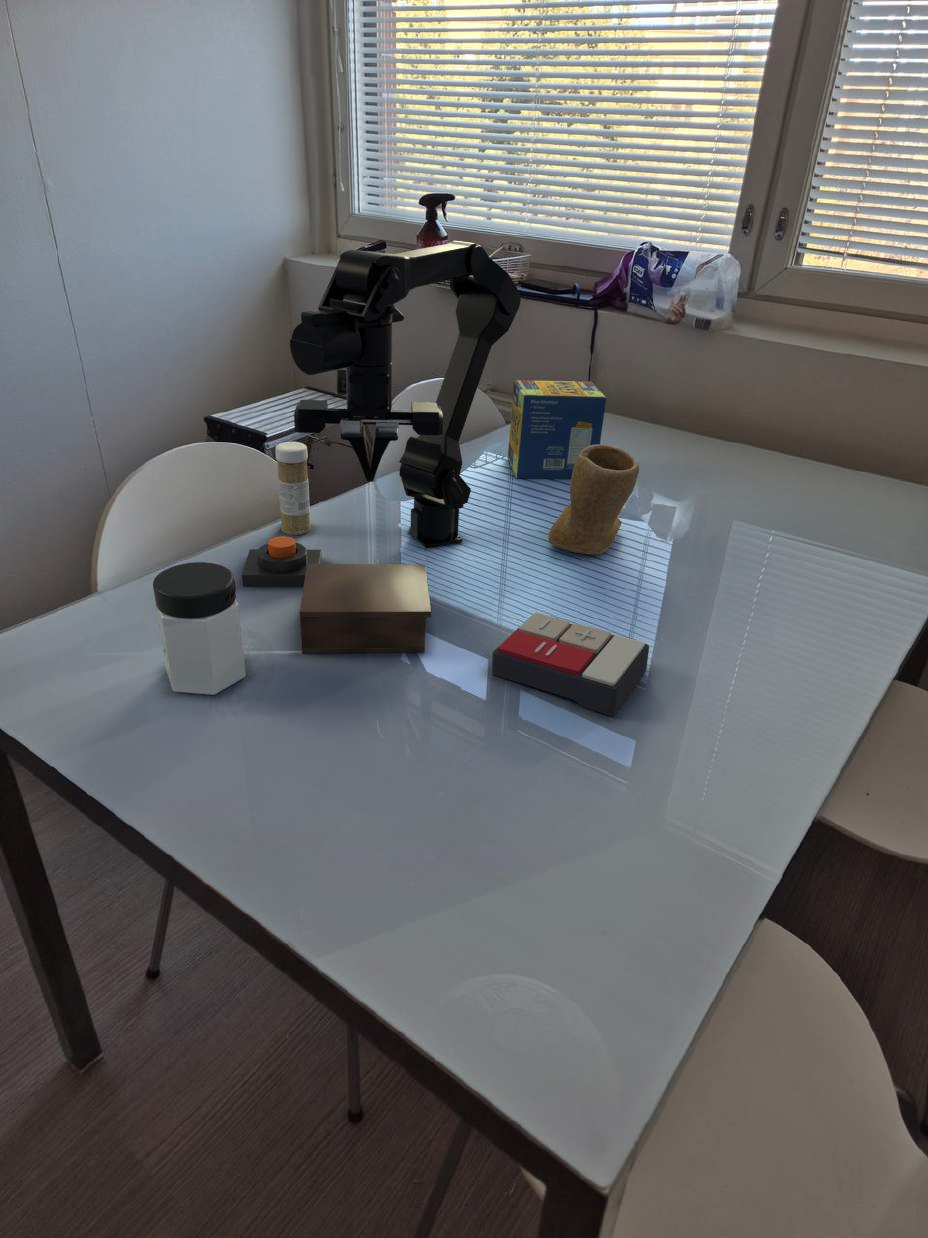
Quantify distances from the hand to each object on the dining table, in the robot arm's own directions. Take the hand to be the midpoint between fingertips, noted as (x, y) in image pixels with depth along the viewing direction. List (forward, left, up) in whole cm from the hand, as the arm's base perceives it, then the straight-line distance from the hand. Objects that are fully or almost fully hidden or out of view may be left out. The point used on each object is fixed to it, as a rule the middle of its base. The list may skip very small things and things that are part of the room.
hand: (370, 480), depth 110 cm
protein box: (-47, -26, -13) cm, 55 cm away
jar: (+27, +18, -13) cm, 35 cm away
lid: (+7, +15, -8) cm, 18 cm away
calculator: (-11, +34, -13) cm, 38 cm away
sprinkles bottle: (+6, -16, -13) cm, 22 cm away
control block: (+12, -2, -13) cm, 18 cm away
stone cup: (-35, +4, -13) cm, 38 cm away
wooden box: (+7, +15, -13) cm, 21 cm away
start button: (+12, -2, -10) cm, 16 cm away
